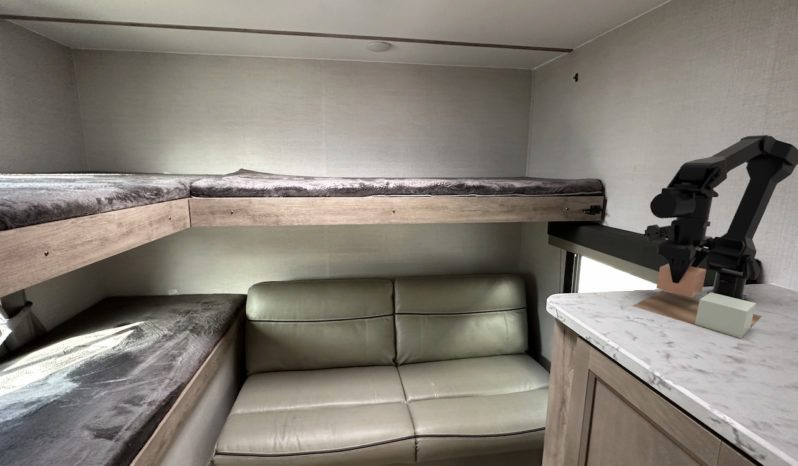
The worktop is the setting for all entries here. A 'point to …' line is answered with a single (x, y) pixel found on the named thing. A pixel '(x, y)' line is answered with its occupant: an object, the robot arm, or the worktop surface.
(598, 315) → the worktop surface
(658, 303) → the walnut board
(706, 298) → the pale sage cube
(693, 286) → the salmon foam cube
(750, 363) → the worktop surface
